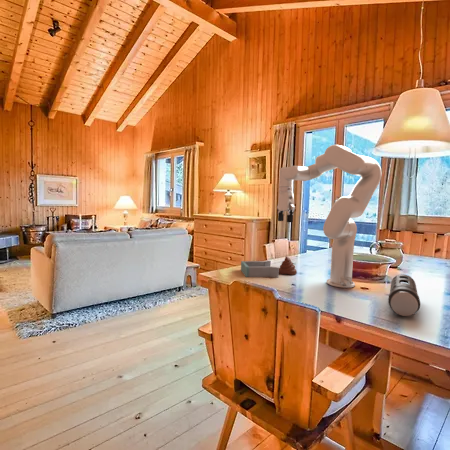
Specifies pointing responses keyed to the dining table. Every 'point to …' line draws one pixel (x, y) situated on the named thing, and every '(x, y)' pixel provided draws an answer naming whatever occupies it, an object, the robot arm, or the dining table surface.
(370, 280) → the dining table surface
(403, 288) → the muzzle brake
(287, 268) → the poop emoji
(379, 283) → the dining table surface
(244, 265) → the grey tray
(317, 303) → the dining table surface
